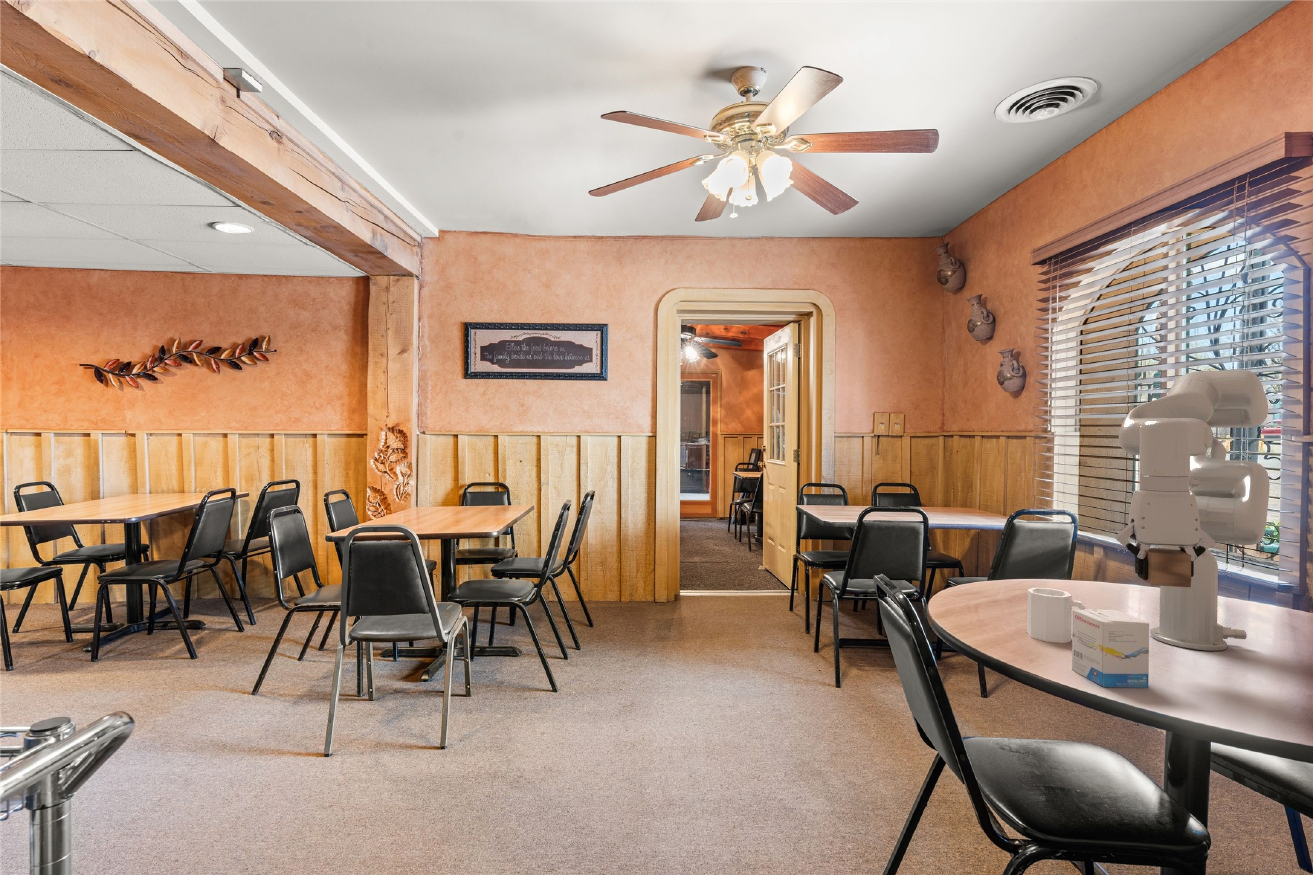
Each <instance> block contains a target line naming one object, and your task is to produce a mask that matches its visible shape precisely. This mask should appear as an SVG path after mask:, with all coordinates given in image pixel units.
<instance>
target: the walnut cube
mask: <svg viewBox="0 0 1313 875" xmlns="http://www.w3.org/2000/svg"><path fill="white" fill-rule="evenodd" d="M1146 559H1148V579H1147V580H1143V579H1142V578H1140V577H1138V579H1141V580H1142V581H1144V582H1146V583H1147V584H1148V585H1151V586H1159V587H1160V586H1174V587H1191V555H1190V554H1187V553H1185V552H1183V551H1181V550H1178V549H1176V548H1160V547H1152V546H1150V548H1149V550H1148V552H1147V554H1146Z"/></svg>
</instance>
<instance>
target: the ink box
mask: <svg viewBox="0 0 1313 875" xmlns="http://www.w3.org/2000/svg"><path fill="white" fill-rule="evenodd" d="M1071 641H1072V642H1071V649H1072V650H1071V653H1072V654H1071V670H1072V671H1073V672H1075V673H1077V674H1079V675H1081V676H1083V677H1085V678H1086V679H1088V680H1090V681H1092V682H1093V683H1095V684H1097V685H1099V686H1101V687H1103V688H1133V689H1135V688H1136V689H1137V688H1138V689H1139V688H1142V689H1144V688H1148V689H1149V676H1150V675H1149V673H1150V672H1149V668H1150V666H1149V665H1150V664H1149V661H1150V622H1147V621H1144V620H1143V619H1142V620H1141V619H1139V618H1137V617H1134V616H1132V615H1129V614H1127V613H1125V612H1123V611H1120V610H1118V609H1098V608H1095V609H1094V608H1087V609H1084V610H1080V609H1072V628H1071Z"/></svg>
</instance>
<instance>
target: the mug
mask: <svg viewBox="0 0 1313 875" xmlns="http://www.w3.org/2000/svg"><path fill="white" fill-rule="evenodd" d="M1026 600H1027V603H1026V604H1027V606H1026V607H1027V608H1026V609H1027V612H1026V615H1027V616H1026V622H1027V623H1026V634H1027V635H1028V636H1029V637H1030V638H1032V639H1036V640H1039V641H1043V642H1047V643H1048V642H1049V643H1059V644H1065V643H1069V642H1071V641H1072V621H1073V620H1072V611H1073V607H1077V608H1078V610H1084V609H1088V607H1087V606H1086V605H1085V604H1084V603H1083V602H1082V601H1080V600H1073V595H1072V594H1070V593H1069V592H1068V591H1066V590H1065V591H1064V590H1060V589H1055V588H1049V587H1032V588H1028V589H1027V599H1026Z"/></svg>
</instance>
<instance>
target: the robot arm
mask: <svg viewBox="0 0 1313 875" xmlns="http://www.w3.org/2000/svg"><path fill="white" fill-rule="evenodd" d="M1265 392H1266V391H1265V389H1264V386H1263V384H1262V382H1261V380H1260V378H1259V377H1258V376H1257V375H1256V374H1255V373H1254V372H1253V371H1250V370H1248V369H1222V370H1221V369H1220V370H1205V371H1204V370H1202V371H1201V370H1199V371H1193V372H1192V371H1191V372H1188V373H1185V374H1183V375H1181V376H1179V377H1177V379H1176V380H1175V381H1174V382H1173V384H1172V386H1171V387H1170V389H1169V391H1168V392H1167V394H1166V396H1162V397H1160V398H1156V399H1154V400H1152V401H1148V402H1145V403H1143V404H1139V405H1137V406H1136V407H1134V408H1133V409H1131V410H1130V411H1129V412H1128V414H1127V415H1126V417H1125V418H1124V419H1123V421H1122V423H1121V426H1120V429H1119V432H1118V443H1119V446H1120V448H1121V449H1122V450H1123V451H1124V452H1125V453H1127V454H1129V455H1134V456H1138V457H1139V460H1138V461H1139V464H1138V467H1139V468H1138V469H1139V473H1138V474H1139V475H1138V477H1139V478H1138V479H1139V480H1138V481H1139V483H1138V485H1139V486H1138V488H1139V489H1138V490H1134V491H1133V494H1132V497H1131V502H1130V507H1129V513H1128V514H1129V515H1128V523H1127V525H1126V527H1124V528H1123V529H1122V530H1121V531H1120V532H1119V533H1117V534H1116V535H1115V536H1114V539H1115V540H1116V541H1117V542H1119V544H1120V545H1121V546H1123V547H1124V548H1125V549H1126V550H1128V551H1129V553H1130V554H1132V556H1134V573H1135V574H1136V575H1137V577H1138V578H1139V577H1140V578H1142V579H1143V580H1142V579H1141V580H1142V581H1144V580H1147V579H1148V559H1146V554H1147V552H1148V550H1149V548H1150V547H1152V546H1159V548H1176V549H1178V550H1181V551H1183V552H1185V553H1187V554H1190V555H1191V587H1174V586H1159V626H1158V627H1157V626H1156V627H1153V628H1151V629H1149V636H1150V637H1152V638H1153V639H1154V640H1157V641H1160V642H1162V643H1164V644H1168V645H1172V646H1176V647H1180V648H1185V649H1191V650H1200V651H1211V652H1212V651H1216V652H1217V651H1224V650H1225V649H1227V648H1228V645H1227V642H1226V640H1227V639H1228V638H1230V639H1231V638H1233V639H1236V640H1237V639H1238V640H1246V639H1247V636H1248V635H1247V632H1246V630H1245V629H1237V628H1232V627H1229V626H1223V625H1222V624H1219V623H1218V602H1219V601H1218V599H1219V598H1218V595H1219V593H1218V592H1219V591H1218V589H1219V588H1218V587H1219V585H1218V584H1219V564H1218V561H1217V559H1216V558H1215V556H1214V554H1213V553H1212V552H1211V551H1210V550H1209V549H1210V548H1211V547H1213V545H1215V544H1216V543H1219V544H1228V545H1237V546H1239V545H1240V546H1253V545H1257V544H1259V543H1260V542H1261V541H1262V539H1263V538H1264V536H1265V533H1266V528H1267V519H1268V509H1269V500H1270V486H1271V485H1270V476H1269V474H1268V470H1267V469H1266V468H1265V467H1264V466H1263V465H1262V464H1260V463H1258V462H1256V461H1251V460H1235V459H1234V460H1229V459H1227V458H1226V457H1227V448H1226V446H1225V445H1224V444H1223V443H1222V442H1221V441H1220V440H1219V439H1218V438H1217V437H1215V435H1214V432H1213V430H1212V429H1213V428H1218V429H1220V428H1222V429H1223V428H1225V429H1226V428H1227V429H1229V428H1237V429H1238V428H1241V429H1242V428H1246V429H1247V428H1257V427H1259V426H1261V425H1263V423H1264V422H1265V421H1266V420H1267V418H1268V414H1269V404H1268V403H1269V402H1268V399H1267V396H1266V393H1265ZM1129 538H1130V539H1131V540H1133V541H1136V543H1135V545H1134V544H1133V543H1132V542H1131V541H1129ZM1140 578H1139V579H1140Z"/></svg>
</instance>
